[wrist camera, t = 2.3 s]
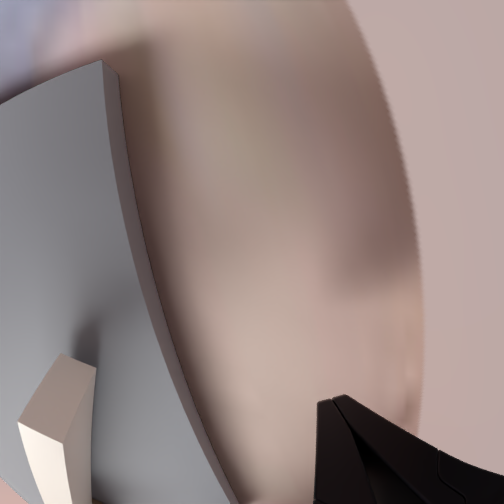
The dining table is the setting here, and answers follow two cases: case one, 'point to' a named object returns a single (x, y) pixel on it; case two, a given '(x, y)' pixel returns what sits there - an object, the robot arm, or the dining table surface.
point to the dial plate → (90, 299)
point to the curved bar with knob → (61, 432)
